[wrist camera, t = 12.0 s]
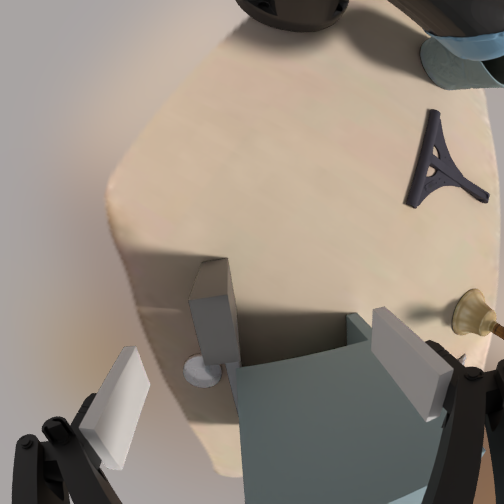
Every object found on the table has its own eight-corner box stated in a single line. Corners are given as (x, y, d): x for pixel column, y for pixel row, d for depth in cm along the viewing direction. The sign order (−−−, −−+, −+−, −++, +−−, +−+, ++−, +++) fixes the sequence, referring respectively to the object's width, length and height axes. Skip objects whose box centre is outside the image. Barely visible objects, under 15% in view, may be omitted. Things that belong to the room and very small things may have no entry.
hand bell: (488, 291, 38) (553, 324, 23) (472, 335, 40) (530, 376, 24) (462, 285, 37) (534, 322, 22) (445, 333, 39) (507, 382, 23)
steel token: (179, 355, 36) (177, 360, 35) (215, 349, 36) (215, 353, 35) (191, 385, 37) (190, 390, 36) (226, 379, 37) (225, 384, 36)
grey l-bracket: (201, 262, 33) (188, 300, 22) (227, 257, 34) (227, 294, 22) (232, 398, 38) (235, 462, 26) (253, 395, 38) (262, 459, 26)
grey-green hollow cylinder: (468, 67, 30) (519, 55, 18) (453, 109, 32) (511, 104, 21) (424, 24, 28) (473, -1, 16) (406, 64, 30) (462, 42, 18)
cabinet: (226, 338, 36) (230, 538, 10) (356, 312, 36) (485, 450, 11) (246, 425, 39) (264, 579, 14) (354, 401, 40) (427, 531, 14)
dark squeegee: (468, 241, 37) (480, 244, 34) (403, 203, 35) (414, 204, 32) (488, 159, 34) (499, 159, 32) (427, 110, 32) (438, 106, 30)
